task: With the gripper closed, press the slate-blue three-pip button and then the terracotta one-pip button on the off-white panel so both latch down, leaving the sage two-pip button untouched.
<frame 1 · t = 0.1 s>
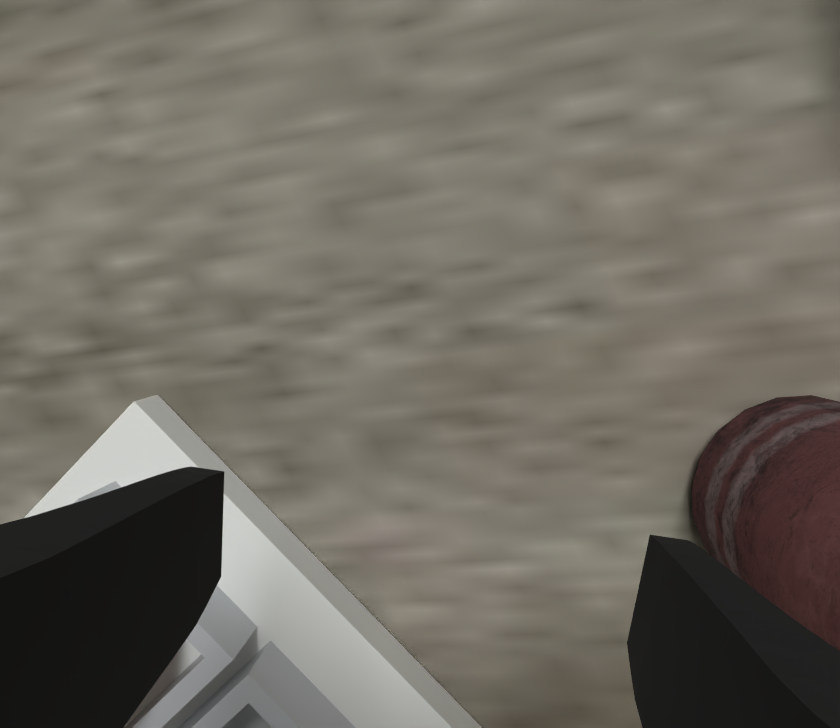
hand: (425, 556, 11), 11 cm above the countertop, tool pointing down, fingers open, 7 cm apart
can: (788, 486, 21), on the countertop
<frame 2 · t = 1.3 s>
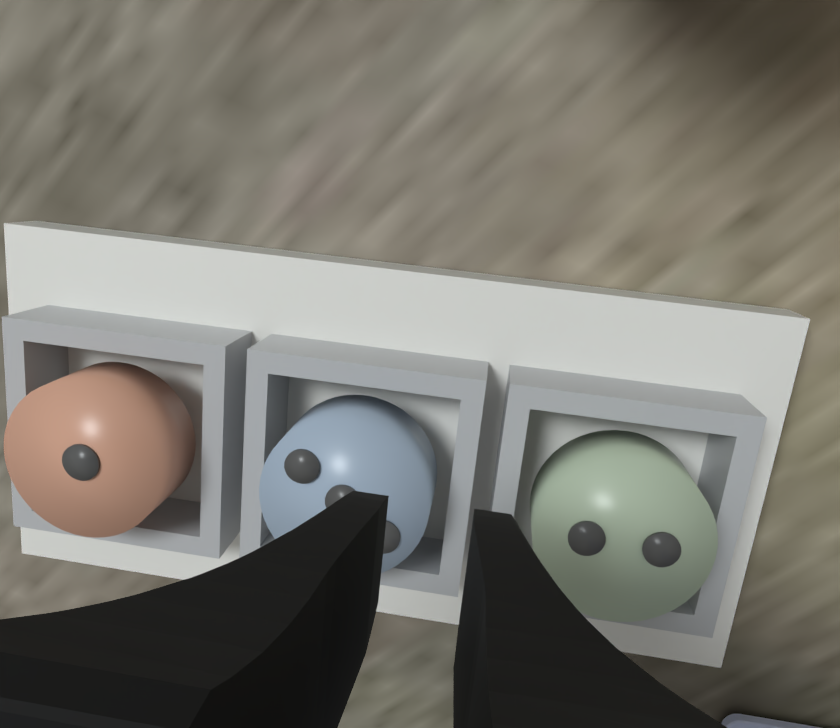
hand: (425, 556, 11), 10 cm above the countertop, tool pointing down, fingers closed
sage two pip button: (617, 524, 18), point 4 cm above the countertop, slide at 0.0 cm
terracotta one pip button: (102, 448, 19), point 4 cm above the countertop, slide at 0.0 cm
slate three pip button: (351, 485, 18), point 4 cm above the countertop, slide at 0.0 cm
button panel: (378, 432, 22), on the countertop
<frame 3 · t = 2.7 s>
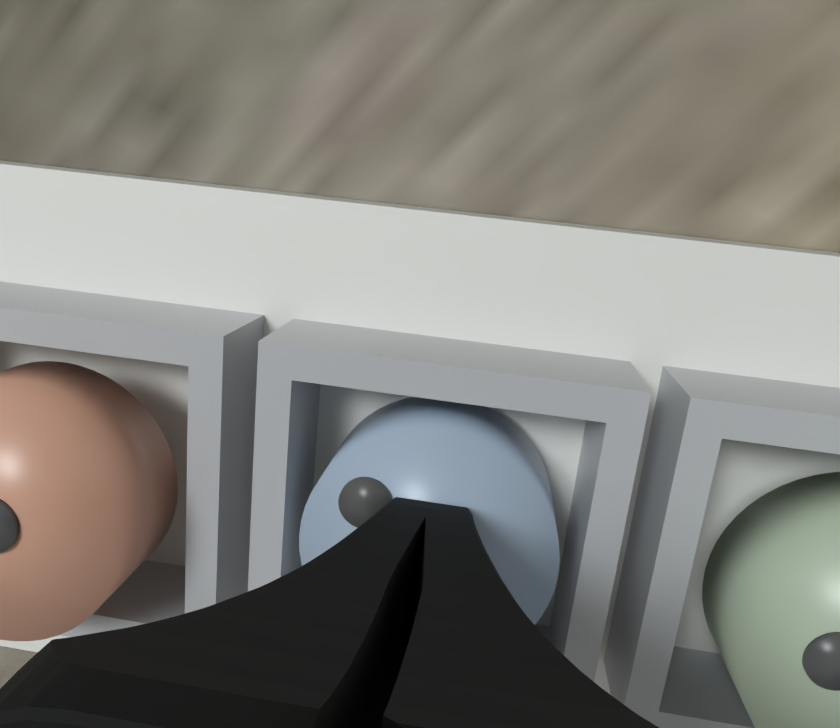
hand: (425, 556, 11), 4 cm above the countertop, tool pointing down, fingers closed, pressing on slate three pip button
terracotta one pip button: (30, 497, 12), point 4 cm above the countertop, slide at 0.0 cm
slate three pip button: (432, 527, 12), point 3 cm above the countertop, slide at 1.1 cm, touching gripper
button panel: (446, 464, 15), on the countertop
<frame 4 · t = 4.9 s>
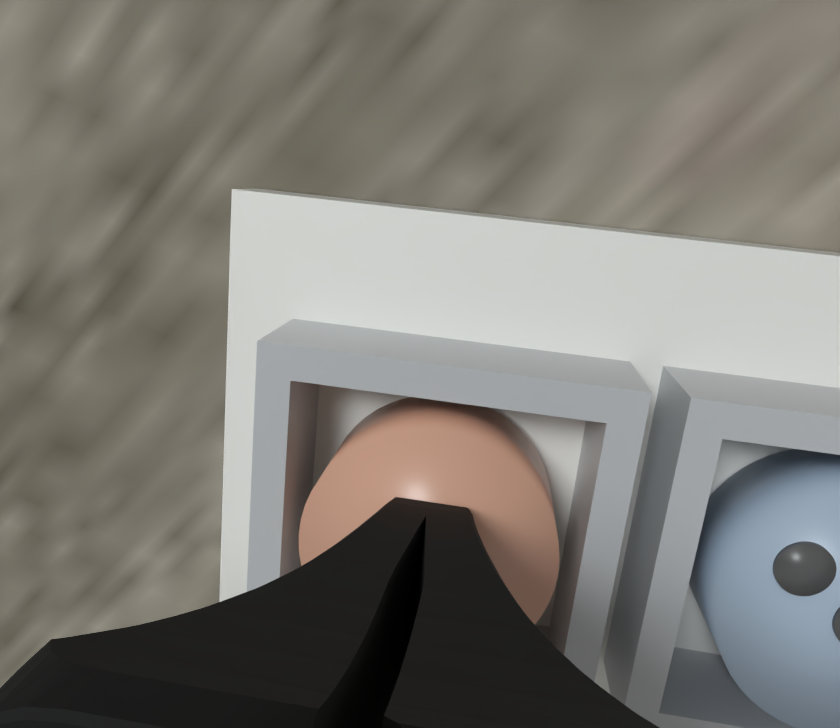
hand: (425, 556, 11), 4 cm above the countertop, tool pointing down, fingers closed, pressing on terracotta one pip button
terracotta one pip button: (431, 527, 12), point 3 cm above the countertop, slide at 1.1 cm, touching gripper
slate three pip button: (834, 588, 12), point 3 cm above the countertop, slide at 1.1 cm
button panel: (771, 511, 15), on the countertop
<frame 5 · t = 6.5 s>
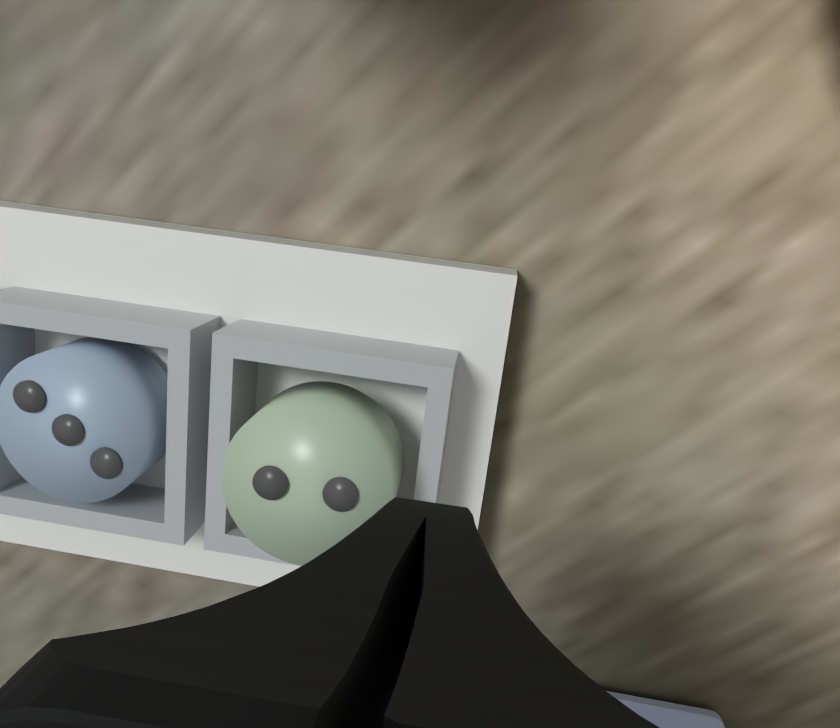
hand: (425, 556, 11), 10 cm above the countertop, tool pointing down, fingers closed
sage two pip button: (316, 472, 18), point 4 cm above the countertop, slide at 0.0 cm
slate three pip button: (89, 418, 20), point 3 cm above the countertop, slide at 1.1 cm
button panel: (140, 389, 23), on the countertop
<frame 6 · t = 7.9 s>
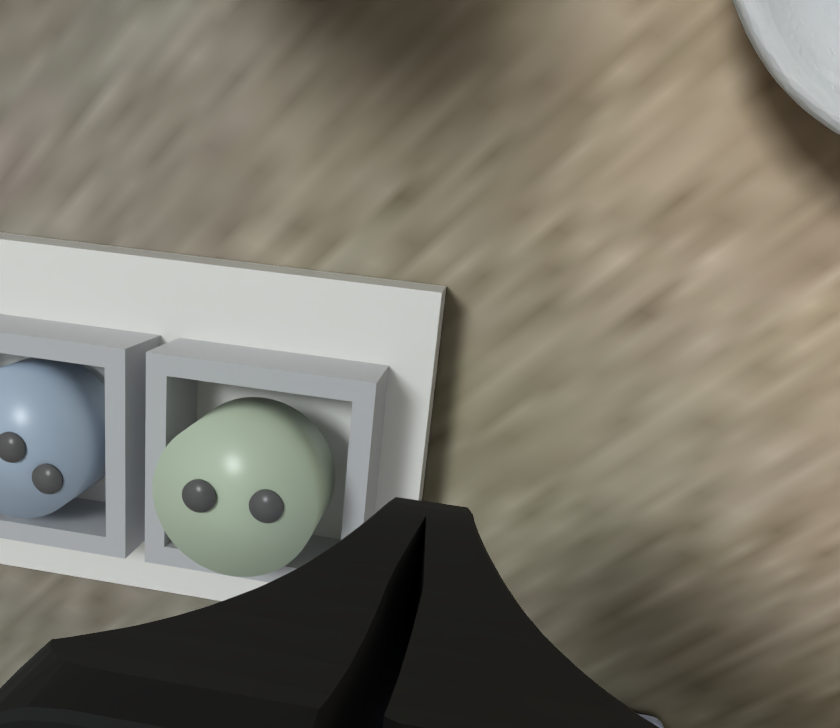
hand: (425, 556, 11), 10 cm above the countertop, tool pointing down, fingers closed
sage two pip button: (246, 485, 19), point 4 cm above the countertop, slide at 0.0 cm
slate three pip button: (33, 435, 20), point 3 cm above the countertop, slide at 1.1 cm
button panel: (91, 406, 23), on the countertop
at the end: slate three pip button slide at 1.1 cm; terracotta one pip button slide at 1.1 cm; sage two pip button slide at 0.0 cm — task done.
